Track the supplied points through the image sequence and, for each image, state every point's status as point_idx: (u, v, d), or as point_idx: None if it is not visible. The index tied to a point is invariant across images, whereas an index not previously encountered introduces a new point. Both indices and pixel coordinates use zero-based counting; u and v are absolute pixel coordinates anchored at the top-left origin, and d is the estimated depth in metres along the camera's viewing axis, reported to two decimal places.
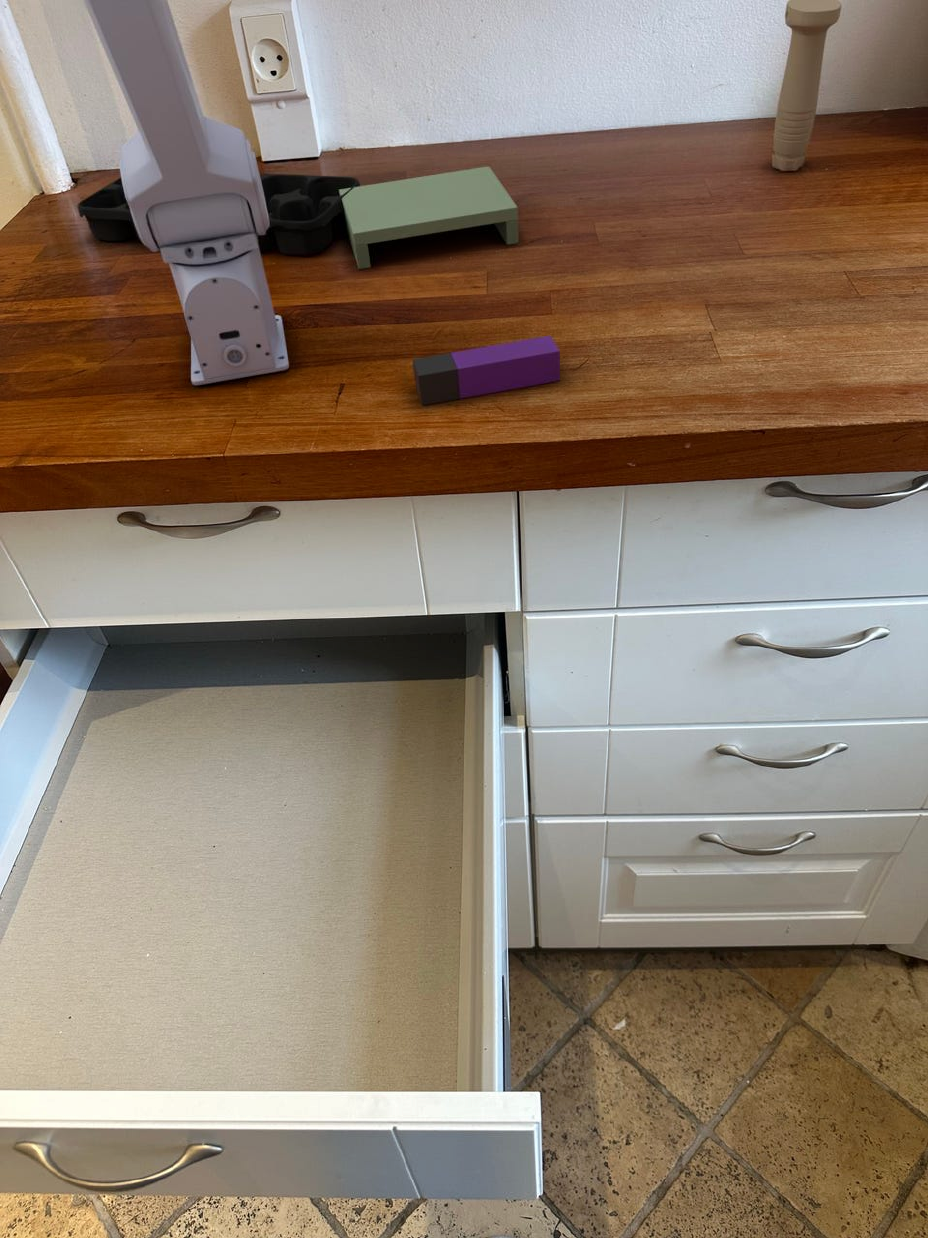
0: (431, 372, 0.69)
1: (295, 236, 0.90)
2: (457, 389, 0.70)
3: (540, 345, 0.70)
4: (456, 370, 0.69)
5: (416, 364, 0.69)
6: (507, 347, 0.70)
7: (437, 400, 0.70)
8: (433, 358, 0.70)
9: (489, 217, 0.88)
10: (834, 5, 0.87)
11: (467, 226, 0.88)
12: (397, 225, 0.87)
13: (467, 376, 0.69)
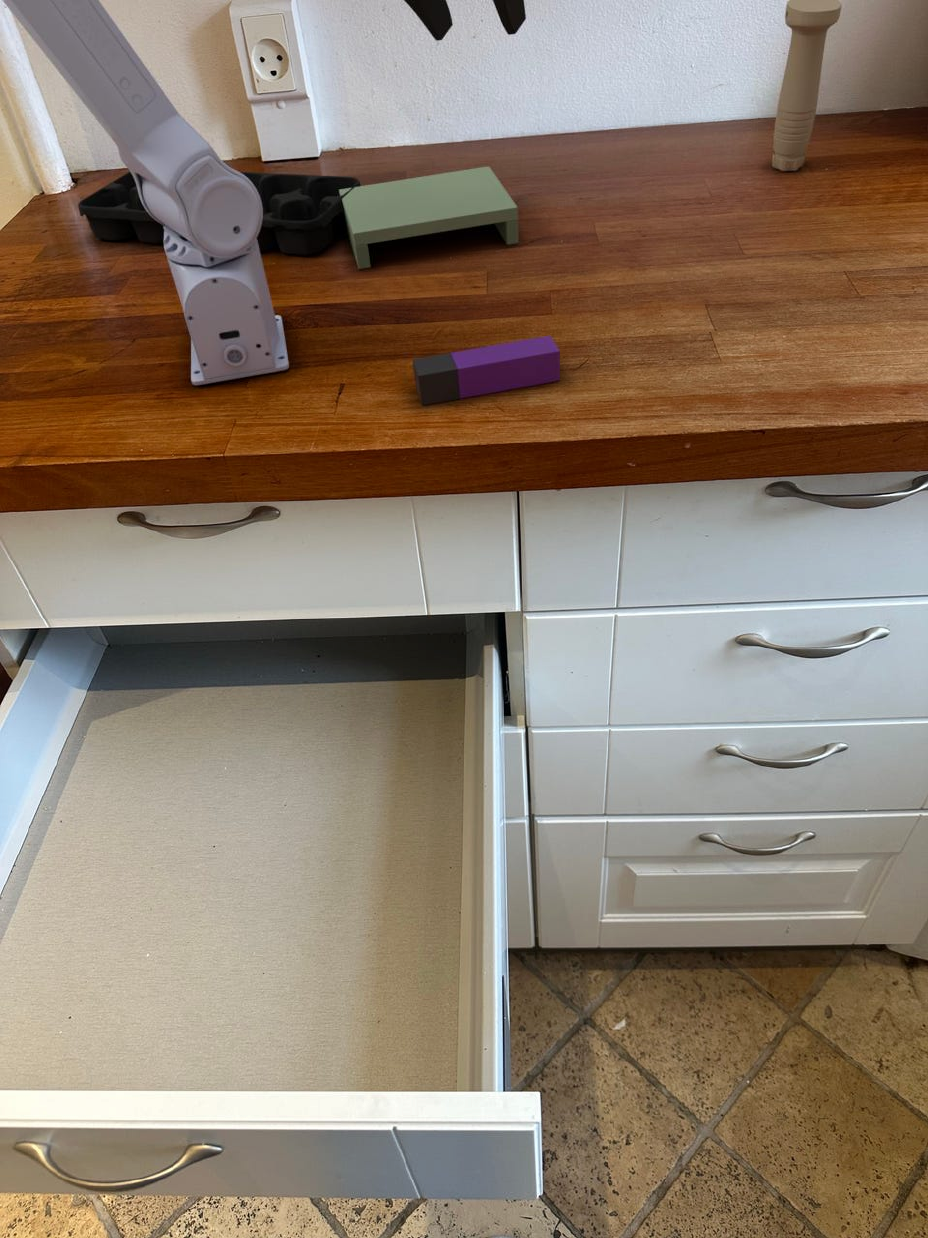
0: (431, 372, 0.69)
1: (296, 236, 0.90)
2: (457, 389, 0.70)
3: (540, 345, 0.70)
4: (456, 370, 0.69)
5: (416, 364, 0.69)
6: (507, 347, 0.70)
7: (437, 400, 0.70)
8: (433, 358, 0.70)
9: (489, 217, 0.88)
10: (834, 5, 0.87)
11: (467, 226, 0.88)
12: (397, 225, 0.87)
13: (467, 376, 0.69)
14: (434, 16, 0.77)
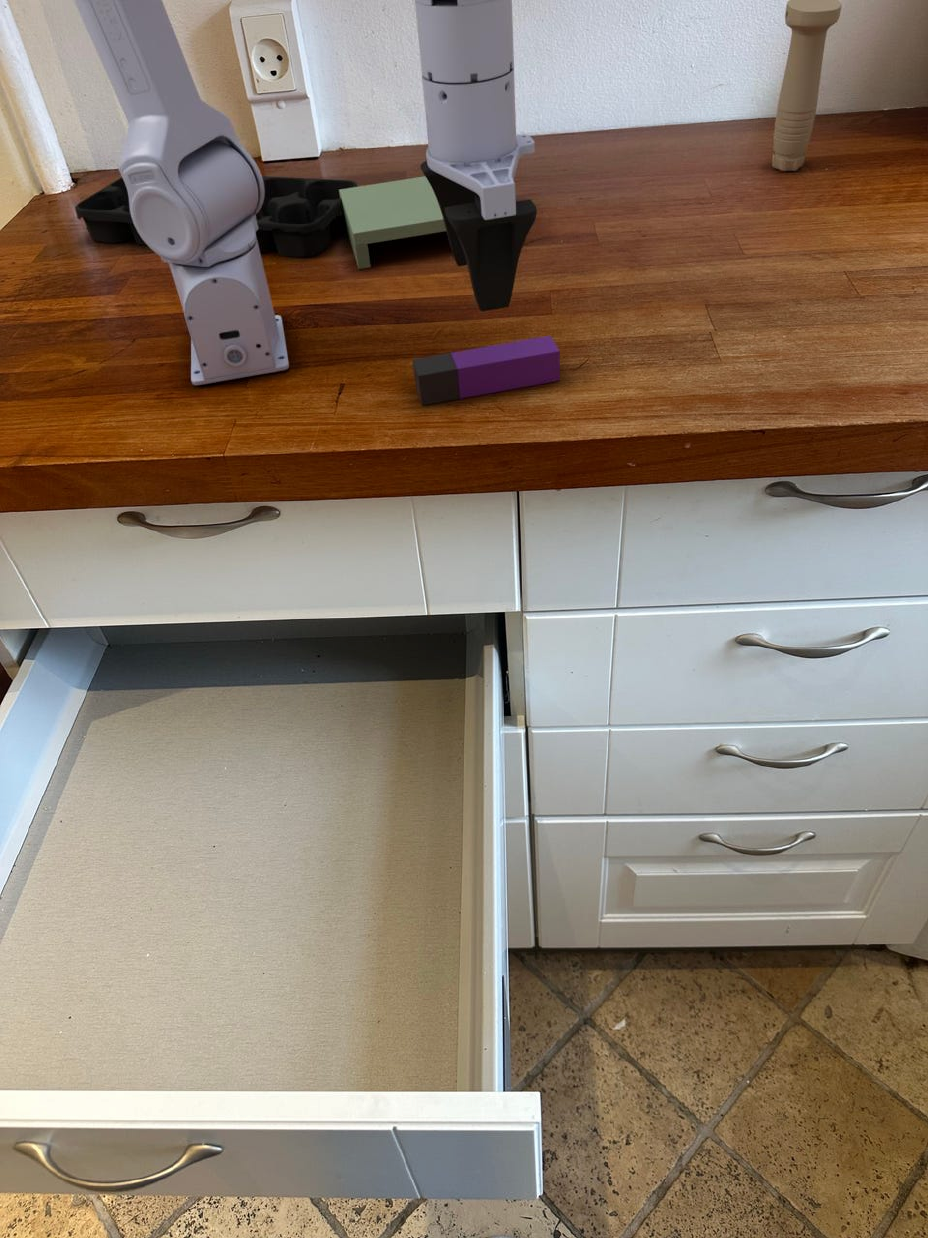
0: (431, 372, 0.69)
1: (294, 239, 0.90)
2: (457, 389, 0.70)
3: (540, 345, 0.70)
4: (456, 370, 0.69)
5: (416, 364, 0.69)
6: (507, 347, 0.70)
7: (437, 400, 0.70)
8: (433, 358, 0.70)
9: None
10: (834, 5, 0.87)
11: None
12: (397, 225, 0.87)
13: (467, 376, 0.69)
14: (460, 241, 0.67)
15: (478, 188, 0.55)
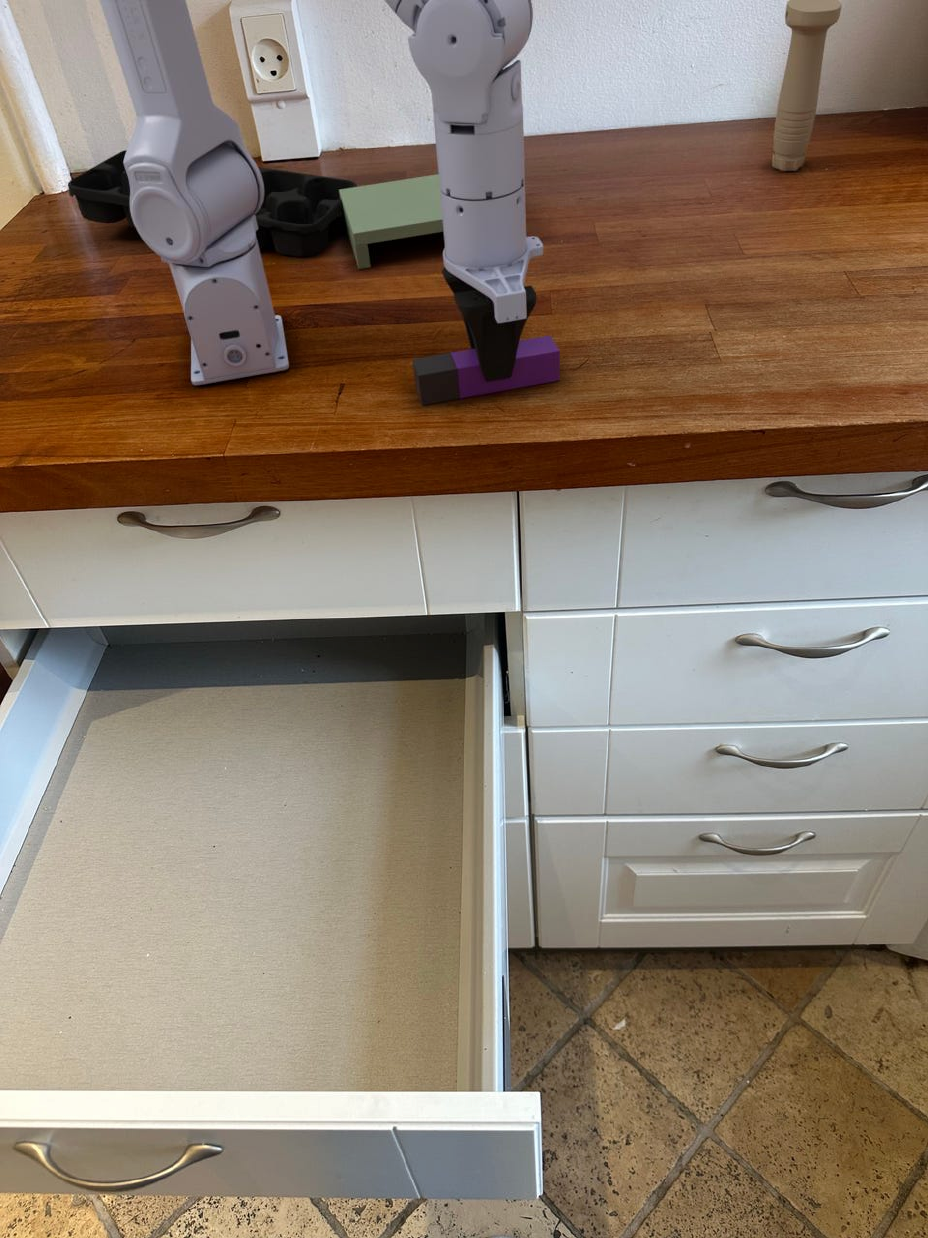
0: (431, 371, 0.69)
1: (293, 238, 0.90)
2: (457, 389, 0.70)
3: (540, 345, 0.70)
4: (456, 370, 0.69)
5: (416, 364, 0.69)
6: None
7: (437, 400, 0.70)
8: (433, 358, 0.70)
9: None
10: (834, 5, 0.87)
11: None
12: (397, 225, 0.87)
13: (467, 376, 0.69)
14: None
15: (492, 295, 0.60)
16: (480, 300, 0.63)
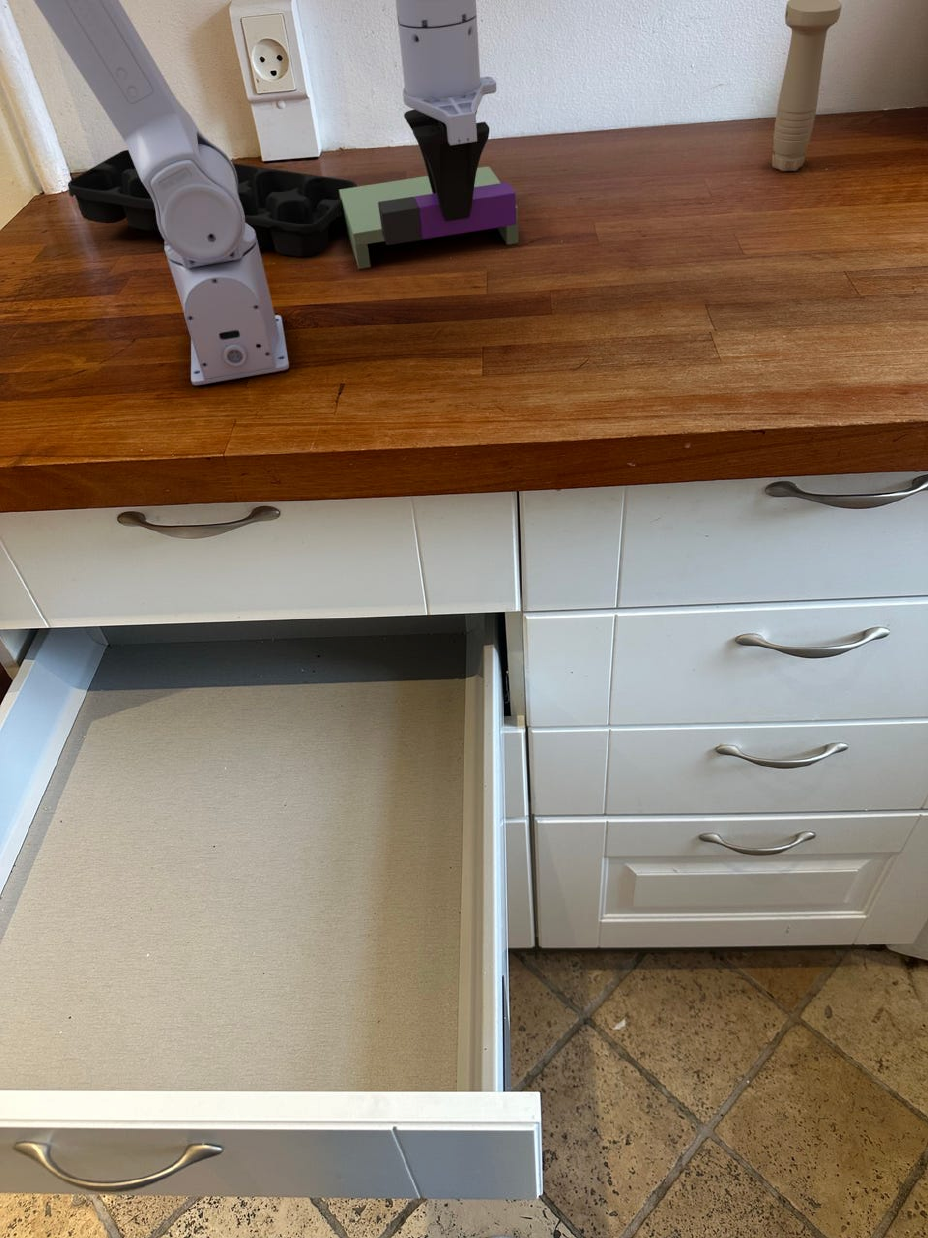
0: (394, 210, 0.73)
1: (293, 238, 0.90)
2: (419, 229, 0.75)
3: (497, 189, 0.75)
4: (418, 209, 0.73)
5: (381, 205, 0.74)
6: None
7: (401, 240, 0.75)
8: (398, 200, 0.75)
9: None
10: (834, 5, 0.87)
11: None
12: None
13: (428, 216, 0.74)
14: None
15: (444, 117, 0.65)
16: (436, 131, 0.68)
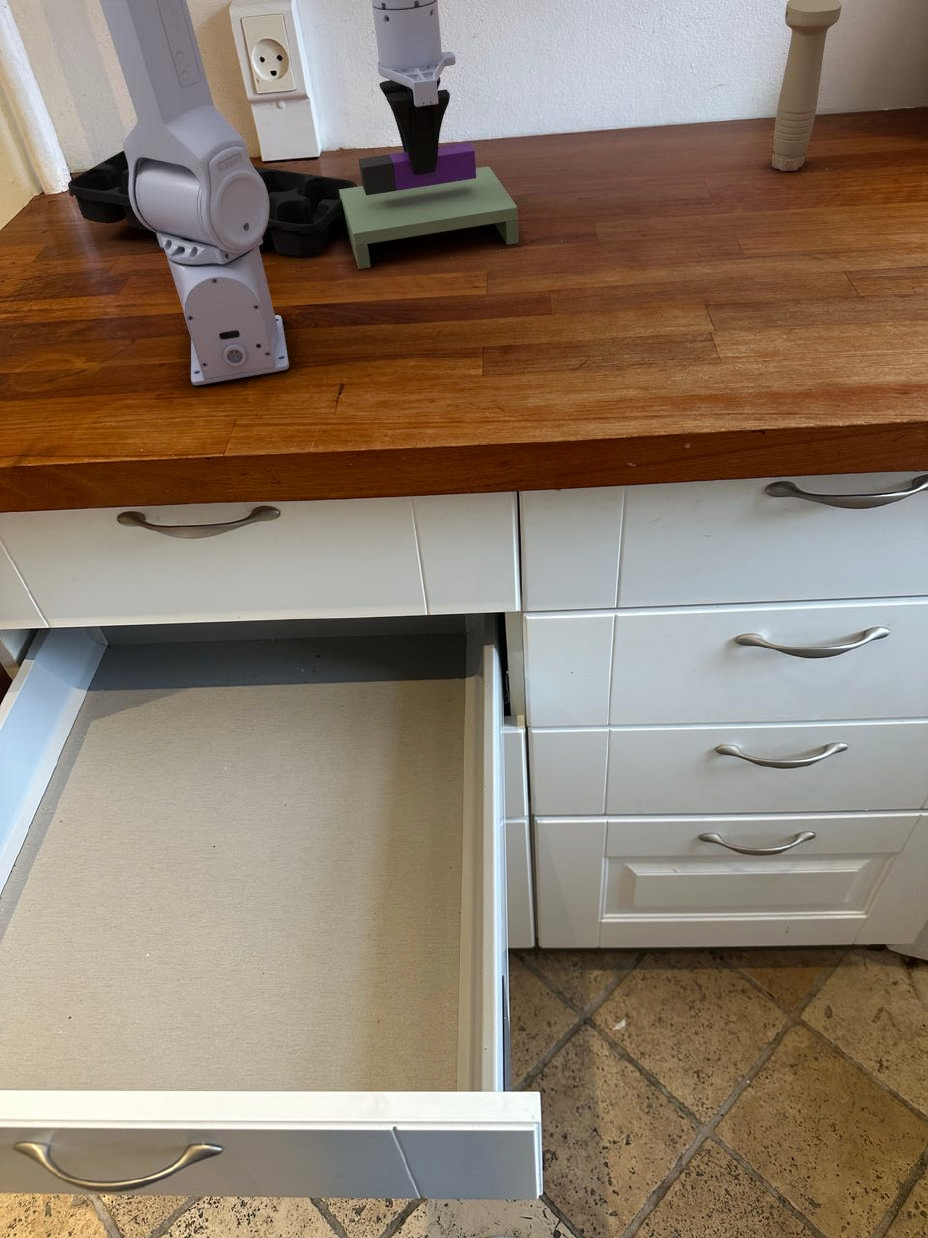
0: (372, 165, 0.87)
1: (293, 238, 0.90)
2: (394, 181, 0.88)
3: (459, 147, 0.89)
4: (392, 164, 0.87)
5: (361, 161, 0.88)
6: None
7: (378, 191, 0.89)
8: (375, 157, 0.88)
9: (489, 217, 0.88)
10: (834, 5, 0.87)
11: (467, 226, 0.88)
12: (397, 225, 0.87)
13: (401, 170, 0.88)
14: None
15: (411, 83, 0.78)
16: (405, 96, 0.82)
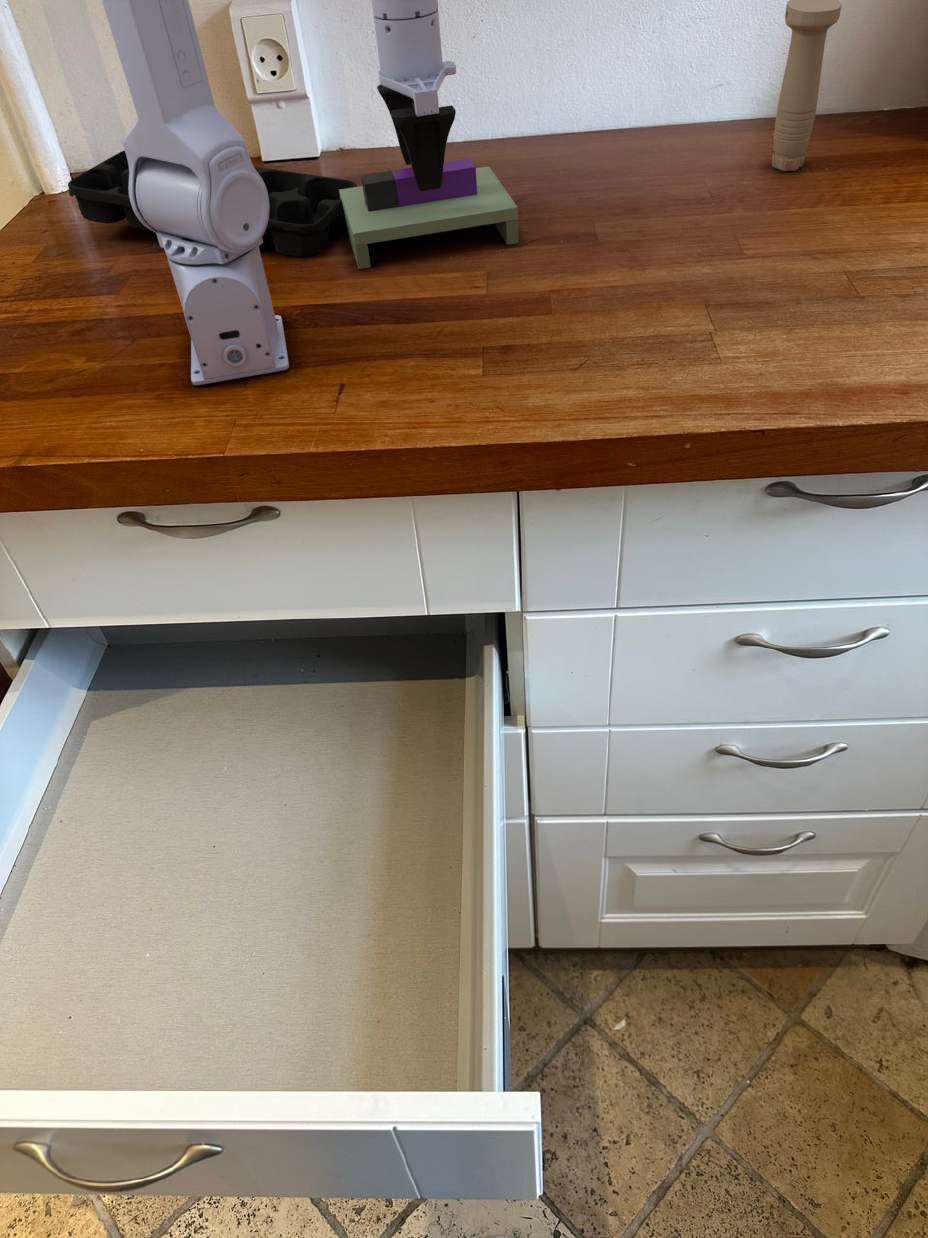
0: (374, 181, 0.88)
1: (293, 238, 0.90)
2: (396, 197, 0.89)
3: (461, 164, 0.90)
4: (394, 180, 0.88)
5: (364, 177, 0.89)
6: None
7: (380, 207, 0.90)
8: (377, 173, 0.90)
9: (489, 217, 0.88)
10: (834, 5, 0.87)
11: (467, 226, 0.88)
12: (397, 225, 0.87)
13: (403, 186, 0.89)
14: None
15: (412, 93, 0.79)
16: (410, 113, 0.81)
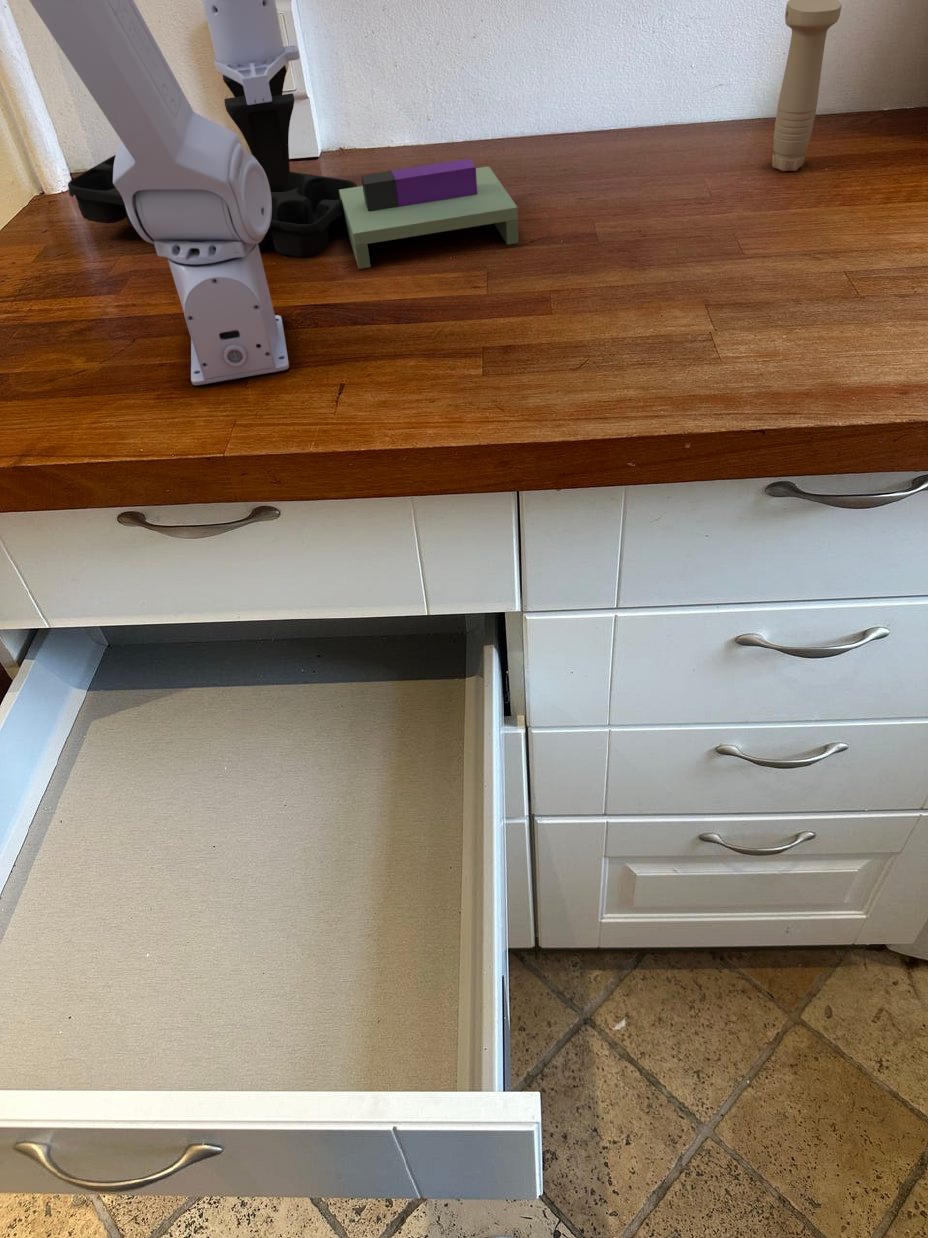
0: (374, 181, 0.88)
1: (293, 238, 0.90)
2: (396, 197, 0.89)
3: (461, 164, 0.90)
4: (394, 180, 0.88)
5: (364, 177, 0.89)
6: (435, 166, 0.90)
7: (380, 207, 0.90)
8: (377, 173, 0.90)
9: (489, 217, 0.88)
10: (834, 5, 0.87)
11: (467, 226, 0.88)
12: (397, 225, 0.87)
13: (403, 186, 0.89)
14: None
15: (241, 80, 0.72)
16: (243, 101, 0.74)
